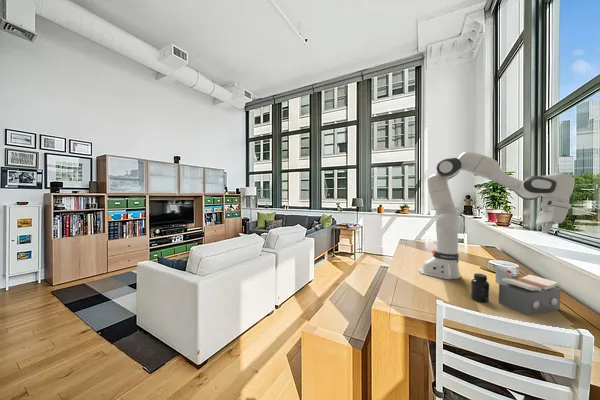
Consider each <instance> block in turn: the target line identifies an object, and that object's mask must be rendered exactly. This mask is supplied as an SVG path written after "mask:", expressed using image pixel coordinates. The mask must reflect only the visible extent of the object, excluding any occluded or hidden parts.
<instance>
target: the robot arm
mask: <svg viewBox="0 0 600 400" xmlns="http://www.w3.org/2000/svg"><path fill="white" fill-rule="evenodd" d="M460 171H466V172H469V173H471V174H474V175H476V176H477V177H481V178H484V179H487V180H489V181H491V182H494V183H495V184H498V185H499V186H502V187H504V188H507V189H508V190H511V191H513V192H514V193H515V194H516V195H517V196H518V197H519V198H521V199H523V200H525V201H526V200H527V201H533V200H536V199H538V198H540V197H543V198H542V200H541V203H540V206H539V208H540V209H542V210H541V211H540V212H539V213H538V216H537V217H536V221H535V225H538V226H541V227H542V229H541V233H544V234H549V233H550V231H551V229H552V227H553V225H556V224H557V225H558V224H562V223H563V222H564V221H565V219H566V217H567V215H568V213H569V210H570V209H571V208H572V206H573V205H572V203H570V198H571V196H572V194H573V191H574V187H575V183H576V182H575V181H576V180H575V177H574V176H572V175H570V174H567V173H564V172H554V173H552V174H548V175H531V176H529V177H527V178H526V179H524V180H521V179H518V178H516V177H513V176H511V175H509V174H507V173H505V172H504V171H503V170H502V168H501V166H500V164H499V162H498V160H496V159H494V158H492V157H490V156H487V155H484V154H481V153H477V152H474V151H473V152H472V151H464V152H462V153H461V154H460V155H459V156H458V157H448V158H444V159H441V160H440V161H439V162H437V164H436V173H433V174H432V175H430V176H428V177H427V189H428V190H427V191H428V193H429V197H430V200H431V205H432V207H433V208H434V212H435V214H436V216H437V217H436V219H435V233H436V250H435V249H432V251H431V252H432V256H431V257H429V258H427V259H426V260H424V261H423V264H422V266H420V267H419V268H418V272H419V274H421V275H426V276H431V277H435V278H440V279H444V280H452V279H455V280H457V279H460V278H461V273H460V269H459V262H460V261H459V260H460V255H459V236H458V235H459V233H458V230H459V229H458V226H459V224H460V217H459V214H458V212H457V208H456V206H455V203H454V201H453V197H452V194H451V191H450V187H449V184H448V181H449V180H450V179H453V178H454V177H455V176H457V175H458V174H459V173H460Z"/></svg>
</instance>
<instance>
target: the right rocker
mask: <svg viewBox="0 0 600 400" xmlns="http://www.w3.org/2000/svg"><path fill="white" fill-rule="evenodd" d="M518 280H520V281H523V282H526V283H529V284H533V285H536V286H539V287H542V288H541V289H544V290H547V289H551V288H552V287H557V286H559V282H558V281H555V280H551V279H546V278H543V277H541V276H536V275H533V274H527V275H525V276H523V277H518Z"/></svg>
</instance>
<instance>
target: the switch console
mask: <svg viewBox="0 0 600 400" xmlns="http://www.w3.org/2000/svg"><path fill="white" fill-rule="evenodd" d="M498 285H499V286H498V304H500V305H503V306H505V307H507V308H509V309H511V310H514V311H517V312H518V311H519V313H520V314H523V313H524V314H523V315H526V316H532V315H536V314H541V313H548V312H553V311H558V310H560V309H561V291H562V290H561V288H558V287H556V286H554V287H552V288H551V289H547V290H544V289H541V291H539V290H534V291H530V290H527V289H524V288H521V287H518V286H515V285H512V284H509V283H502V284H498Z"/></svg>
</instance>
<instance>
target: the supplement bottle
mask: <svg viewBox="0 0 600 400" xmlns="http://www.w3.org/2000/svg"><path fill="white" fill-rule="evenodd" d="M470 281H471V282H470V299H472V300H473V301H475V302H477V303H483V304H485V303H489V300H490V283H489V281H488V276H487V275H486V274H482V273H474V274H473V278H472V280H470Z"/></svg>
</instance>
